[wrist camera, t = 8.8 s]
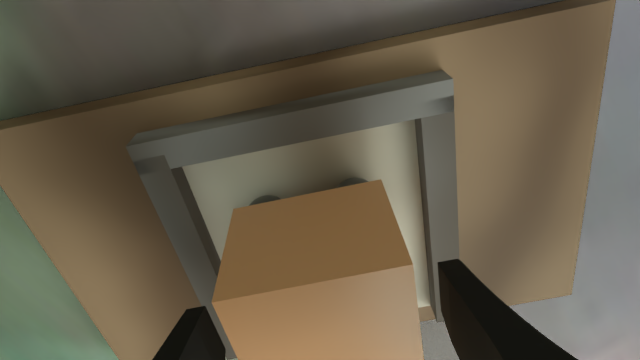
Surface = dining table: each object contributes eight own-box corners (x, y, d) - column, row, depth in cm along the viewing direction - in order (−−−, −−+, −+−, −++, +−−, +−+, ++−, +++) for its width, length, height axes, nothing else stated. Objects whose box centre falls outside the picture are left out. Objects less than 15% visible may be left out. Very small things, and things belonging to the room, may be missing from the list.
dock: (137, 351, 20) (120, 394, 18) (-9, 122, 14) (-56, 150, 12) (556, 275, 19) (585, 312, 17) (589, -5, 13) (641, 3, 11)
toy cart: (393, 288, 17) (444, 459, 11) (280, 310, 17) (273, 487, 12) (374, 162, 14) (429, 307, 8) (237, 189, 14) (200, 349, 9)
